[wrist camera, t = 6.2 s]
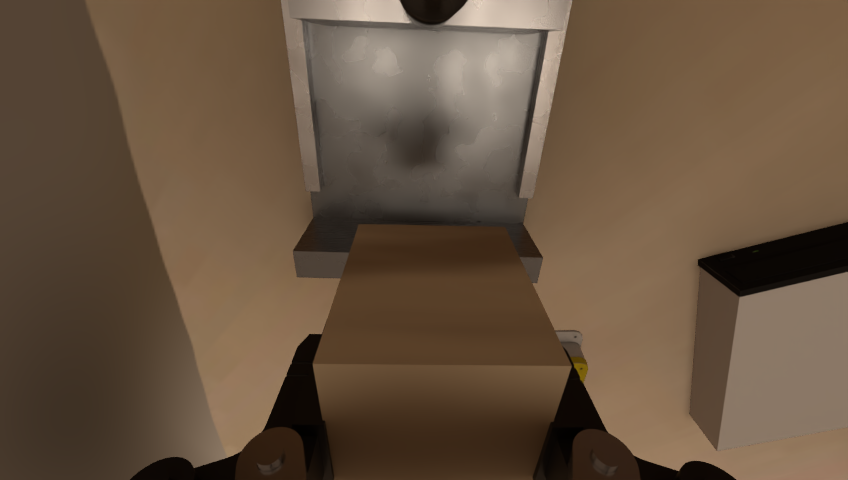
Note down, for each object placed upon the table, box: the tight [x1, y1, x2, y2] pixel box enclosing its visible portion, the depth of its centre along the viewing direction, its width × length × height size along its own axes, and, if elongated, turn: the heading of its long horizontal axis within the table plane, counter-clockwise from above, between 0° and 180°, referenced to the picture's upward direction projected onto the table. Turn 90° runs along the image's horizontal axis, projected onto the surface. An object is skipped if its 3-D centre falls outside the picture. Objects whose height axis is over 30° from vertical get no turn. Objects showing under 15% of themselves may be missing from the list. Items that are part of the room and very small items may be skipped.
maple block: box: [313, 224, 572, 480], centre depth 11 cm, size 5×5×6 cm
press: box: [281, 0, 572, 283], centre depth 22 cm, size 20×16×6 cm
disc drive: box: [689, 222, 848, 451], centre depth 33 cm, size 18×22×5 cm
